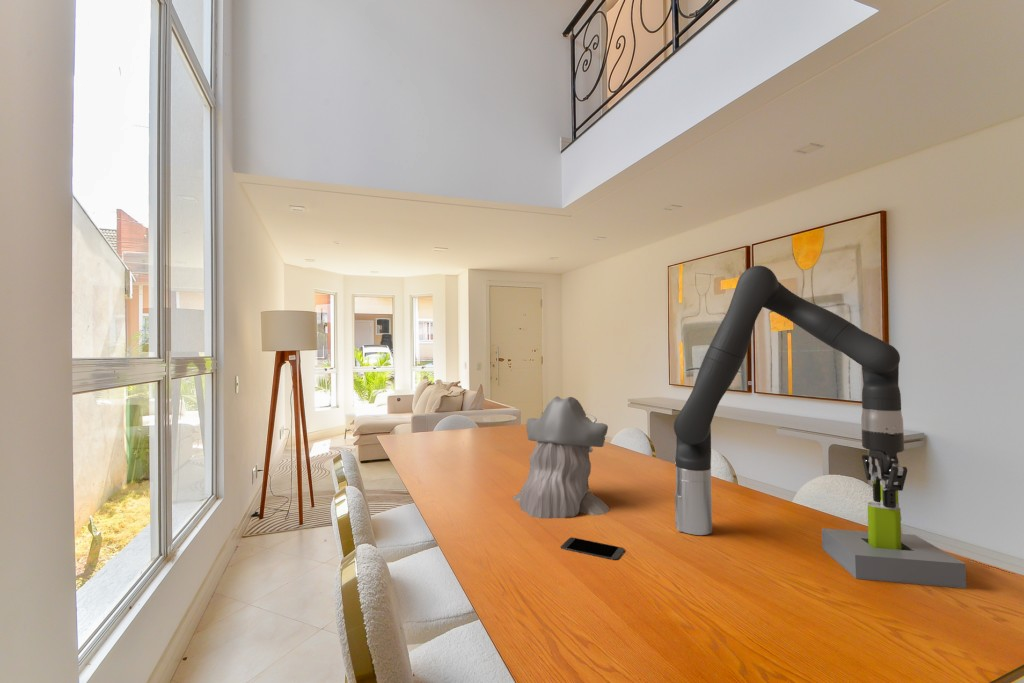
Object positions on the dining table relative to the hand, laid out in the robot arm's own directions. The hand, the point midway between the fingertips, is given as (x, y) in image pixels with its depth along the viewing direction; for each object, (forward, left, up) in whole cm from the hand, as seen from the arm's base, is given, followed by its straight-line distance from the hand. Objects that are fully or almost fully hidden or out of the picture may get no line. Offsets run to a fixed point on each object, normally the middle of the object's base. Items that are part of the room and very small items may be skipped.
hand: (884, 504), depth 104 cm
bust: (-78, +31, -14) cm, 85 cm away
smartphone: (-66, -4, -15) cm, 68 cm away
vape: (0, 0, -13) cm, 13 cm away
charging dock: (0, 0, -14) cm, 14 cm away
